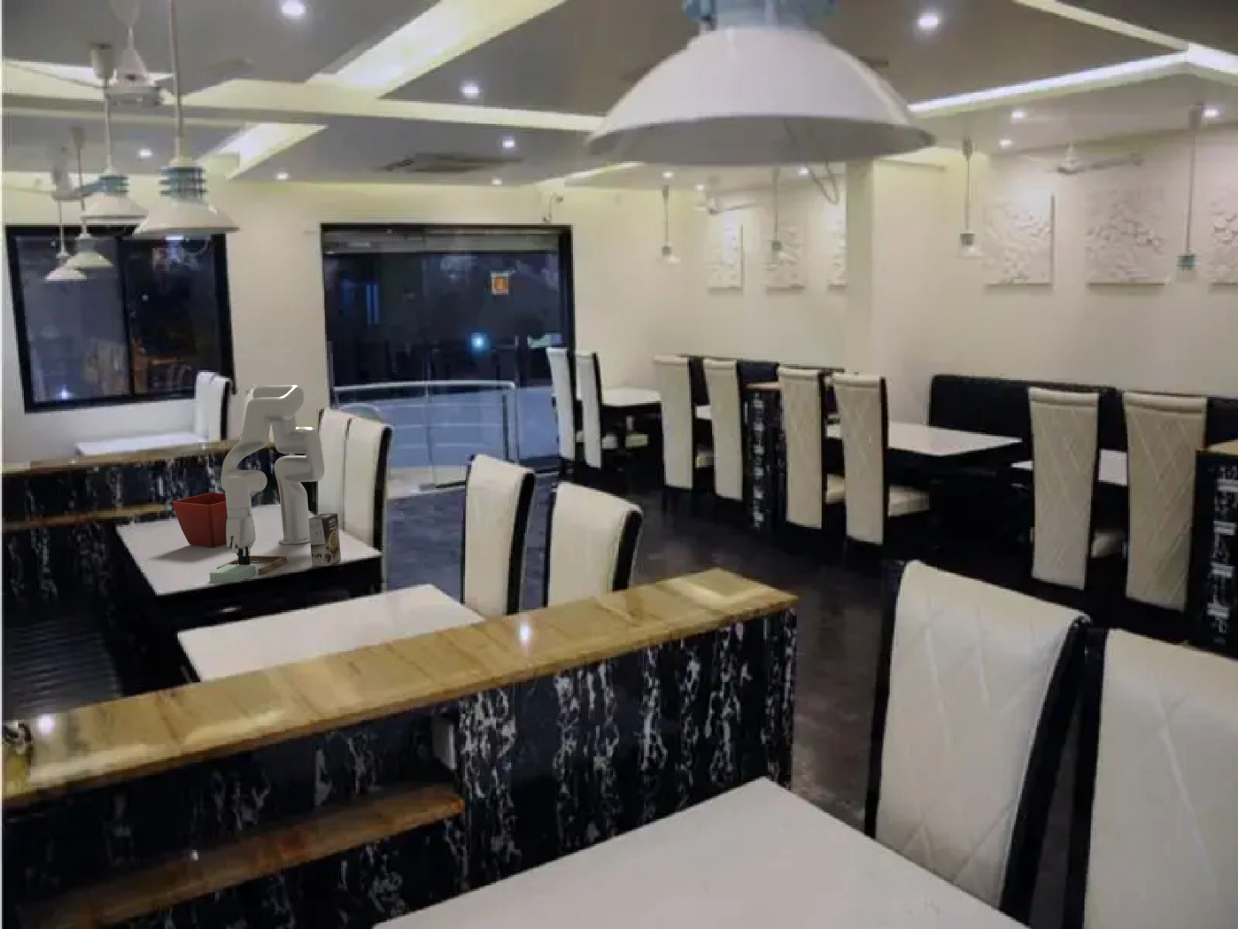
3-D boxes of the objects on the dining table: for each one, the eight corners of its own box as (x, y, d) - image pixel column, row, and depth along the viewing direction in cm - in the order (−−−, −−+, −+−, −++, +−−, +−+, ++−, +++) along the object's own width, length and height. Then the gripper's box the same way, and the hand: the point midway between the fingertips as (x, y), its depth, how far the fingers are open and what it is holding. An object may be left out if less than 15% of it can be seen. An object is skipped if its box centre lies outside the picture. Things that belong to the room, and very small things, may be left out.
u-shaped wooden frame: (245, 560, 343) (244, 555, 342) (287, 562, 339) (287, 556, 339) (217, 573, 327) (216, 567, 327) (261, 575, 324) (260, 569, 324)
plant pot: (253, 539, 375) (249, 494, 372) (214, 551, 358) (209, 505, 355) (216, 535, 383) (211, 492, 380) (175, 547, 366) (170, 501, 363)
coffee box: (329, 566, 332) (325, 518, 330) (311, 566, 334) (307, 518, 331) (341, 559, 341) (338, 512, 338) (324, 558, 342) (320, 512, 340)
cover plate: (228, 573, 328) (227, 564, 328) (256, 574, 326) (255, 565, 326) (210, 581, 319) (209, 572, 318) (238, 582, 317) (237, 573, 316)
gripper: (242, 507, 334) (247, 561, 337) (215, 517, 319) (221, 573, 322) (262, 507, 332) (267, 561, 335) (236, 517, 318) (241, 573, 321)
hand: (244, 567), depth 329 cm, fingers closed
